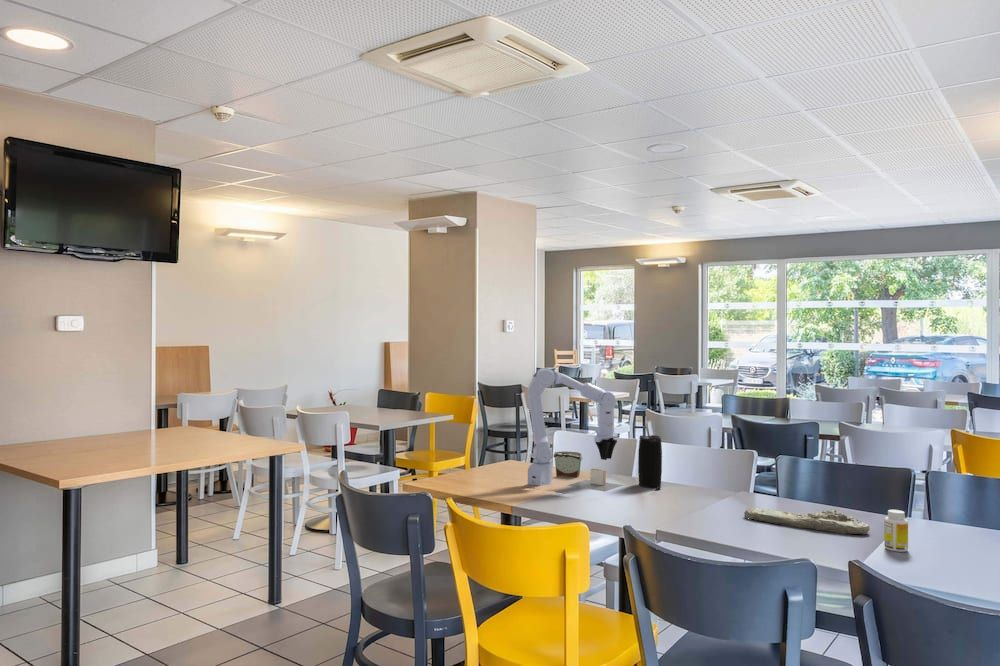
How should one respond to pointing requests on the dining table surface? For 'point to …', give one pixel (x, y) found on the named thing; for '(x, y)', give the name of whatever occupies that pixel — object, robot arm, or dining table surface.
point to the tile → (598, 477)
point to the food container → (568, 463)
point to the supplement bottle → (896, 531)
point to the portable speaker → (650, 461)
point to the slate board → (594, 485)
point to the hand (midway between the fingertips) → (606, 459)
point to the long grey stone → (811, 520)
